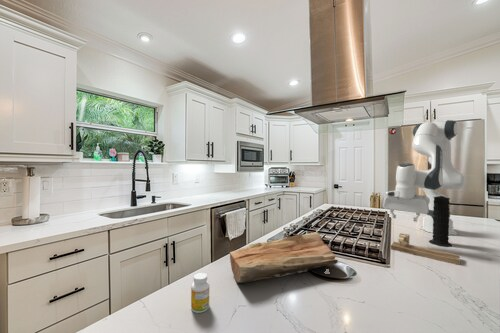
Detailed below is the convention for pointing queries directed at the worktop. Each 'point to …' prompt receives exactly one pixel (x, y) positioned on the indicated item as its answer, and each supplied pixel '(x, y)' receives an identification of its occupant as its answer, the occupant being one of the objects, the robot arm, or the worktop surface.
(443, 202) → the handle grip
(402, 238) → the beige mallet
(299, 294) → the worktop surface
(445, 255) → the board
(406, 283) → the worktop surface
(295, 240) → the log
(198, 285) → the supplement bottle
